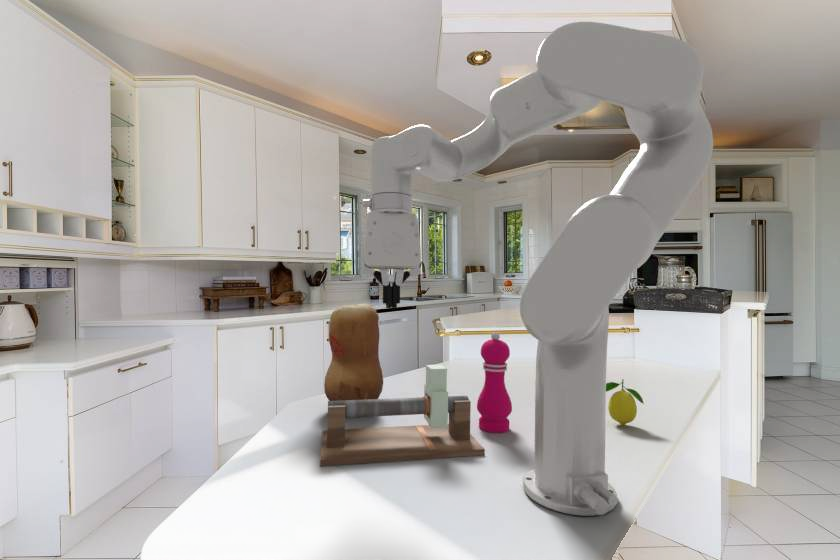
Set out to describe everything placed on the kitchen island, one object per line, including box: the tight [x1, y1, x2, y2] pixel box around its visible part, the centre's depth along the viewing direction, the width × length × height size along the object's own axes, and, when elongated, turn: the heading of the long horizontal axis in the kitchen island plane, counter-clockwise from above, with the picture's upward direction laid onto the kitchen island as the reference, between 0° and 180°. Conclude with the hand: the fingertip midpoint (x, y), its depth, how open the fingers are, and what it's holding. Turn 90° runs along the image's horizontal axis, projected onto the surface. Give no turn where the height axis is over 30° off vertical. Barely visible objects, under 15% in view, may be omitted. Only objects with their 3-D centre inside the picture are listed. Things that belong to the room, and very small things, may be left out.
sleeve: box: [423, 364, 449, 428], centre depth 79 cm, size 6×3×10 cm, turn 12°
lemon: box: [606, 378, 644, 426], centre depth 90 cm, size 7×6×10 cm
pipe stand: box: [319, 395, 486, 467], centre depth 77 cm, size 14×28×9 cm, turn 102°
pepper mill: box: [476, 331, 513, 434], centre depth 87 cm, size 7×7×20 cm
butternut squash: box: [323, 303, 384, 401], centre depth 97 cm, size 14×13×25 cm
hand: (391, 307), depth 76 cm, fingers closed
